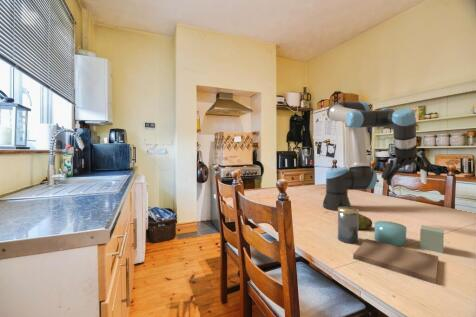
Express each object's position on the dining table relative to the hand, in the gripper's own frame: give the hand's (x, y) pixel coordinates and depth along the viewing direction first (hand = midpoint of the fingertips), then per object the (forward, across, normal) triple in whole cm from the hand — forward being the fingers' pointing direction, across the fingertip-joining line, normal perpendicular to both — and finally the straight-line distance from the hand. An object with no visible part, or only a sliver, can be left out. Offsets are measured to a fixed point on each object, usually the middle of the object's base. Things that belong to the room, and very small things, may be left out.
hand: (407, 186), depth 103 cm
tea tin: (-2, -36, -25) cm, 44 cm away
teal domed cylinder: (+3, -21, -25) cm, 33 cm away
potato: (+6, -29, -12) cm, 32 cm away
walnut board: (-4, -26, -39) cm, 47 cm away
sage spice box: (+4, -10, -31) cm, 32 cm away
